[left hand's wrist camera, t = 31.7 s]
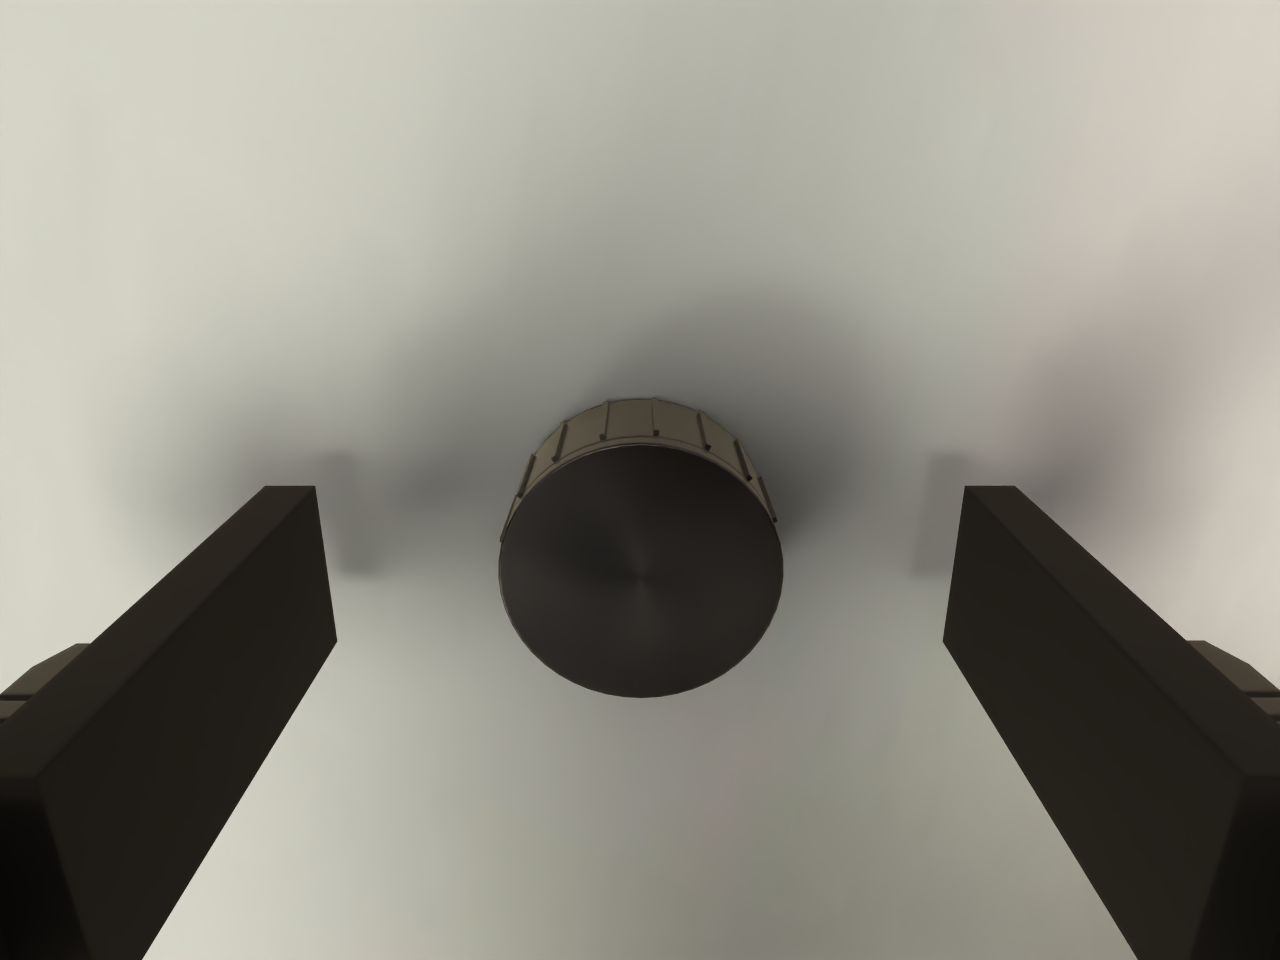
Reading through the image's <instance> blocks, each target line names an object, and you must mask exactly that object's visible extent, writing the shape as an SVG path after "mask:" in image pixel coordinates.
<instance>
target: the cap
mask: <svg viewBox="0 0 1280 960" xmlns="http://www.w3.org/2000/svg"><path fill="white" fill-rule="evenodd" d="M774 522H777V518H776V515H775V513H774V510H773V507H772V505H771V502H770V499H769V496H768V494H767V491H766V488H765V486H764V483H763V480H762V477H759V478H758V477H757V474H756V472H755V470H754V468H753V466H752V464H751V461H750V459H749V458H748V456H747V455H746V453H745V452H744V450H743V448H742V445H741V442H740V441H739V439H736V440H735V439H734V438H733V437H732V436H731V435H730V434H729V433H728V432H727V431H725V430H724V429H723V428H722V427H721V426H720V425H718V424H717V423H715V422H714V421H712V420H711V419H709V418H708V417H706V416H704V413H703V412H701V411H699V412H696V411H694V410H692V409H690V408H687V407H684V406H680V405H677V404H674V403H669V402H664V401H659V400H657V398H652V400H646V399H636V400H623V401H618V402H612V403H609V402H608V401H607V402H604V404H603V405H601V406H598V407H595V408H592V409H590V410H588V411H586V412H584V413H582V414H579V415H577V416H576V417H574V418H573V419H571V420H570V421H568V422H565V421H564V422H562V423H561V424H560V428H559V429H558V430H556V431H555V432H554V433H553V434H552V435H551V436H550V437H549V438H548V439H547V440H546V441H545V442H544V444H543V445H542V446H541V447H540V448H539V450H538V451H537V453H536V455H533V454H532V455H531V456H530V458H529V461H528V464H527V467H526V469H525V472H524V475H523V478H522V481H521V483H520V486H519V489H518V492H517V495H515V498H514V501H513V503H512V506H511V509H510V512H509V515H508V517H507V520H506V523H505V526H504V529H503V531H502V534H501V537H500V542H502V543H501V549H500V555H499V584H500V591H501V596H502V600H503V603H504V606H505V610H506V612H507V614H508V617H509V619H510V621H511V623H512V625H513V627H514V629H515V630H516V632H517V633H518V635H519V637H520V638H521V640H522V641H523V642H524V643H525V645H526V646H527V647H528V648H529V649H530V651H531V652H532V653H533V654H534V655H535V656H536V657H537V658H538V659H539V660H541V661H542V662H543V663H544V664H545V665H546V666H548V667H549V668H550V669H552V670H553V671H555V672H556V673H557V674H559V675H560V676H562V677H564V678H566V679H568V680H569V681H571V682H573V683H575V684H578V685H580V686H583V687H585V688H587V689H590V690H594V691H597V692H601V693H604V694H608V695H614V696H621V697H633V698H649V697H661V696H667V695H673V694H678V693H681V692H685V691H688V690H692V689H694V688H697V687H699V686H702V685H704V684H706V683H709V682H711V681H712V680H714V679H716V678H718V677H720V676H721V675H723V674H725V673H726V672H727V671H729V670H730V669H731V668H733V667H734V666H736V665H737V664H738V663H739V662H740V661H741V660H742V659H743V658H745V657H746V656H747V655H748V654H749V653H750V652H751V650H752V649H753V648H754V647H755V646H756V644H757V643H758V642H759V641H760V640H761V638H762V636H763V635H764V633H765V632H766V630H767V628H768V627H769V625H770V623H771V621H772V619H773V616H774V614H775V612H776V610H777V606H778V603H779V599H780V596H781V591H782V583H783V556H782V549H781V543H780V540H779V537H778V534H777V530H776V527H775V524H774Z"/></svg>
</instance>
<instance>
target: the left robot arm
mask: <svg viewBox="0 0 1280 960" xmlns="http://www.w3.org/2000/svg"><path fill="white" fill-rule="evenodd" d="M336 643H337V636H336V629H335V622H334V615H333V608H332V601H331V594H330V587H329V580H328V573H327V566H326V559H325V552H324V545H323V538H322V531H321V524H320V517H319V510H318V503H317V496H316V489H315V486H265V487H264V488H262V489H261V490H260V491H259V492H258V493H257V494H256V495H255V496H254V497H252V498H251V499H250V500H249V501H248V502H247V503H246V504H245V505H244V506H242V507H241V508H240V509H239V510H238V511H237V512H236V513H235V514H234V515H233V516H231V517H230V518H229V519H228V520H227V521H226V522H225V523H224V524H223V525H221V526H220V527H219V528H218V529H217V530H216V531H215V532H214V533H213V534H211V535H210V536H209V537H208V538H207V539H206V540H205V541H204V542H203V543H201V544H200V545H199V546H198V547H197V548H196V549H195V550H194V551H193V552H191V553H190V554H189V555H188V556H187V557H186V558H185V559H184V560H183V561H182V562H180V563H179V564H178V565H177V566H176V567H175V568H174V569H173V570H172V571H170V572H169V573H168V574H167V575H166V576H165V577H164V578H163V579H162V580H160V581H159V582H158V583H157V584H156V585H155V586H154V587H153V588H152V589H150V590H149V591H148V592H147V593H146V594H145V595H144V596H143V597H142V598H140V599H139V600H138V601H137V602H136V603H135V604H134V605H133V606H132V607H130V608H129V609H128V610H127V611H126V612H125V613H124V614H123V615H122V616H121V617H119V618H118V619H117V620H116V621H115V622H114V623H113V624H112V625H111V626H109V627H108V628H107V629H106V630H105V631H104V632H103V633H102V634H101V635H99V636H98V637H97V638H96V639H95V640H94V641H93V642H92V643H91V644H75V645H73V646H71V647H69V648H67V649H65V650H64V651H62V652H60V653H58V654H56V655H54V656H52V657H50V658H48V659H47V660H45V661H43V662H41V663H39V664H37V665H35V666H33V667H32V668H30V669H29V670H28V671H27V672H26V673H25V674H23V675H22V676H21V677H20V678H19V679H18V680H16V681H15V682H14V683H13V684H12V685H11V686H9V687H8V688H7V689H6V690H5V691H4V692H2V693H1V694H0V960H142V959H143V957H144V956H145V954H146V952H147V951H148V949H149V947H150V946H151V944H152V943H153V941H154V939H155V938H156V936H157V934H158V933H159V931H160V929H161V928H162V926H163V925H164V923H165V921H166V920H167V918H168V916H169V915H170V913H171V912H172V910H173V908H174V907H175V905H176V903H177V902H178V900H179V899H180V897H181V895H182V894H183V892H184V890H185V889H186V887H187V885H188V884H189V882H190V881H191V879H192V877H193V876H194V874H195V872H196V871H197V869H198V868H199V866H200V864H201V863H202V861H203V859H204V858H205V856H206V855H207V853H208V851H209V850H210V848H211V846H212V845H213V843H214V841H215V840H216V838H217V837H218V835H219V833H220V832H221V830H222V828H223V827H224V825H225V824H226V822H227V820H228V819H229V817H230V815H231V814H232V812H233V811H234V809H235V807H236V806H237V804H238V802H239V801H240V799H241V797H242V796H243V794H244V793H245V791H246V789H247V788H248V786H249V784H250V783H251V781H252V780H253V778H254V776H255V775H256V773H257V771H258V770H259V768H260V767H261V765H262V763H263V762H264V760H265V758H266V757H267V755H268V753H269V752H270V750H271V749H272V747H273V745H274V744H275V742H276V740H277V739H278V737H279V736H280V734H281V732H282V731H283V729H284V727H285V726H286V724H287V723H288V721H289V719H290V718H291V716H292V714H293V713H294V711H295V709H296V708H297V706H298V705H299V703H300V701H301V700H302V698H303V696H304V695H305V693H306V692H307V690H308V688H309V687H310V685H311V683H312V682H313V680H314V678H315V677H316V675H317V674H318V672H319V670H320V669H321V667H322V665H323V664H324V662H325V661H326V659H327V657H328V656H329V654H330V652H331V651H332V649H333V648H334V646H335V644H336ZM943 643H944V644H945V646H946V648H947V649H948V651H949V652H950V654H951V656H952V657H953V659H954V661H955V662H956V664H957V665H958V667H959V669H960V670H961V672H962V674H963V675H964V677H965V678H966V680H967V682H968V683H969V685H970V687H971V688H972V690H973V692H974V693H975V695H976V696H977V698H978V700H979V701H980V703H981V705H982V706H983V708H984V709H985V711H986V713H987V714H988V716H989V718H990V719H991V721H992V722H993V724H994V726H995V727H996V729H997V731H998V732H999V734H1000V736H1001V737H1002V739H1003V740H1004V742H1005V744H1006V745H1007V747H1008V749H1009V750H1010V752H1011V753H1012V755H1013V757H1014V758H1015V760H1016V762H1017V763H1018V765H1019V766H1020V768H1021V770H1022V771H1023V773H1024V775H1025V776H1026V778H1027V780H1028V781H1029V783H1030V784H1031V786H1032V788H1033V789H1034V791H1035V793H1036V794H1037V796H1038V797H1039V799H1040V801H1041V802H1042V804H1043V806H1044V807H1045V809H1046V810H1047V812H1048V814H1049V815H1050V817H1051V819H1052V820H1053V822H1054V824H1055V825H1056V827H1057V828H1058V830H1059V832H1060V833H1061V835H1062V837H1063V838H1064V840H1065V841H1066V843H1067V845H1068V846H1069V848H1070V850H1071V851H1072V853H1073V855H1074V856H1075V858H1076V859H1077V861H1078V863H1079V864H1080V866H1081V868H1082V869H1083V871H1084V872H1085V874H1086V876H1087V877H1088V879H1089V881H1090V882H1091V884H1092V885H1093V887H1094V889H1095V890H1096V892H1097V894H1098V895H1099V897H1100V899H1101V900H1102V902H1103V903H1104V905H1105V907H1106V908H1107V910H1108V912H1109V913H1110V915H1111V916H1112V918H1113V920H1114V921H1115V923H1116V925H1117V926H1118V928H1119V929H1120V931H1121V933H1122V934H1123V936H1124V938H1125V939H1126V941H1127V943H1128V944H1129V946H1130V947H1131V949H1132V951H1133V952H1134V954H1135V956H1136V957H1137V959H1138V960H1280V690H1279V689H1278V688H1276V687H1275V686H1274V685H1273V684H1272V683H1271V682H1269V681H1268V680H1267V679H1266V678H1265V677H1264V676H1262V675H1261V674H1260V673H1259V672H1258V671H1256V670H1255V669H1254V668H1253V667H1252V666H1251V665H1249V664H1248V663H1246V662H1244V661H1242V660H1240V659H1238V658H1236V657H1234V656H1232V655H1231V654H1229V653H1227V652H1225V651H1223V650H1221V649H1219V648H1217V647H1215V646H1213V645H1212V644H1210V643H1208V642H1206V641H1186V640H1185V639H1184V638H1183V637H1182V636H1181V635H1179V634H1178V633H1177V632H1176V631H1175V630H1174V629H1173V628H1172V627H1171V626H1169V625H1168V624H1167V623H1166V622H1165V621H1164V620H1163V619H1162V618H1161V617H1159V616H1158V615H1157V614H1156V613H1155V612H1154V611H1153V610H1152V609H1151V608H1150V607H1148V606H1147V605H1146V604H1145V603H1144V602H1143V601H1142V600H1141V599H1140V598H1138V597H1137V596H1136V595H1135V594H1134V593H1133V592H1132V591H1131V590H1130V589H1128V588H1127V587H1126V586H1125V585H1124V584H1123V583H1122V582H1121V581H1120V580H1118V579H1117V578H1116V577H1115V576H1114V575H1113V574H1112V573H1111V572H1110V571H1108V570H1107V569H1106V568H1105V567H1104V566H1103V565H1102V564H1101V563H1100V562H1099V561H1097V560H1096V559H1095V558H1094V557H1093V556H1092V555H1091V554H1090V553H1089V552H1087V551H1086V550H1085V549H1084V548H1083V547H1082V546H1081V545H1080V544H1079V543H1077V542H1076V541H1075V540H1074V539H1073V538H1072V537H1071V536H1070V535H1069V534H1067V533H1066V532H1065V531H1064V530H1063V529H1062V528H1061V527H1060V526H1059V525H1057V524H1056V523H1055V522H1054V521H1053V520H1052V519H1051V518H1050V517H1049V516H1048V515H1046V514H1045V513H1044V512H1043V511H1042V510H1041V509H1040V508H1039V507H1038V506H1036V505H1035V504H1034V503H1033V502H1032V501H1031V500H1030V499H1029V498H1028V497H1026V496H1025V495H1024V494H1023V493H1022V492H1021V491H1020V490H1019V489H1018V488H1016V487H1015V486H965V489H964V496H963V503H962V510H961V517H960V524H959V531H958V538H957V545H956V552H955V559H954V566H953V573H952V580H951V587H950V594H949V601H948V608H947V615H946V622H945V629H944V636H943Z"/></svg>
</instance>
